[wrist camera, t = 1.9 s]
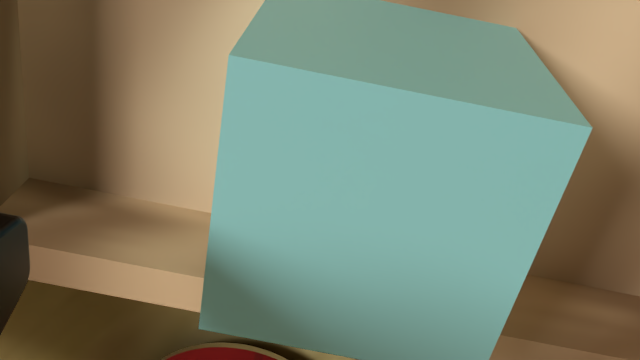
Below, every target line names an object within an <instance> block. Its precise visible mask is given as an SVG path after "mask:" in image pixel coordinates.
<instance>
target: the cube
mask: <svg viewBox="0 0 640 360" xmlns="http://www.w3.org/2000/svg"><path fill="white" fill-rule="evenodd" d="M591 130H592V126H591V125H590V124H589V122H588V121H587V120H586V119H585V117H584V116H583V115H582V113H581V112H580V111H579V109H578V108H577V107H576V105H575V104H574V103H573V101H572V100H571V99H570V98H569V96H568V95H567V94H566V92H565V91H564V90H563V88H562V87H561V86H560V84H559V83H558V82H557V81H556V79H555V78H554V77H553V75H552V74H551V73H550V71H549V70H548V69H547V67H546V66H545V65H544V63H543V62H542V61H541V60H540V58H539V57H538V56H537V54H536V53H535V52H534V50H533V49H532V48H531V46H530V45H529V44H528V42H527V41H526V40H525V39H524V37H523V36H522V35H521V33H520V32H519V31H518V29H517V28H514V27H509V26H504V25H499V24H494V23H489V22H485V21H480V20H475V19H470V18H465V17H460V16H455V15H450V14H445V13H440V12H435V11H431V10H426V9H421V8H416V7H411V6H406V5H401V4H396V3H391V2H386V1H382V0H265V1H264V3H263V4H262V6H261V7H260V9H259V10H258V12H257V13H256V15H255V16H254V18H253V19H252V21H251V22H250V24H249V25H248V27H247V28H246V30H245V31H244V33H243V34H242V36H241V37H240V39H239V40H238V42H237V43H236V45H235V46H234V48H233V49H232V51H231V52H230V54H229V56H228V65H227V74H226V83H225V92H224V102H223V111H222V120H221V129H220V138H219V147H218V156H217V165H216V174H215V183H214V192H213V201H212V211H211V220H210V229H209V238H208V247H207V256H206V265H205V274H204V283H203V292H202V301H201V310H200V320H199V329H202V330H207V331H212V332H217V333H223V334H228V335H233V336H238V337H244V338H249V339H254V340H260V341H265V342H270V343H275V344H281V345H286V346H291V347H296V348H302V349H307V350H312V351H318V352H323V353H328V354H333V355H339V356H344V357H349V358H354V359H360V360H489V358H490V356H491V354H492V352H493V349H494V347H495V345H496V343H497V340H498V338H499V336H500V334H501V331H502V329H503V327H504V325H505V323H506V320H507V318H508V316H509V314H510V311H511V309H512V307H513V305H514V302H515V300H516V298H517V296H518V293H519V291H520V289H521V287H522V285H523V282H524V280H525V278H526V276H527V273H528V271H529V269H530V267H531V264H532V262H533V260H534V258H535V255H536V253H537V251H538V249H539V247H540V244H541V242H542V240H543V238H544V235H545V233H546V231H547V229H548V226H549V224H550V222H551V220H552V217H553V215H554V213H555V211H556V209H557V206H558V204H559V202H560V200H561V197H562V195H563V193H564V191H565V188H566V186H567V184H568V182H569V179H570V177H571V175H572V173H573V171H574V168H575V166H576V164H577V162H578V159H579V157H580V155H581V153H582V150H583V148H584V146H585V144H586V141H587V139H588V137H589V135H590V132H591Z"/></svg>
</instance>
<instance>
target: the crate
mask: <svg viewBox="0 0 640 360" xmlns="http://www.w3.org/2000/svg"><path fill="white" fill-rule="evenodd" d="M264 1H265V0H0V212H1V213H6V214H11V215H17V216H20V217H22V218H23V219H24V220H25V221H26V223H27V228H28V240H29V255H30V274H29V278H28V280H32V281H37V282H42V283H48V284H53V285H58V286H63V287H69V288H74V289H79V290H84V291H90V292H95V293H100V294H105V295H111V296H116V297H121V298H126V299H132V300H137V301H142V302H147V303H153V304H158V305H163V306H168V307H174V308H179V309H184V310H189V311H195V312H200V310H201V301H202V292H203V283H204V274H205V265H206V256H207V247H208V238H209V229H210V220H211V211H212V201H213V192H214V183H215V174H216V165H217V156H218V147H219V138H220V129H221V120H222V111H223V102H224V92H225V83H226V74H227V65H228V56H229V54H230V52H231V51H232V49H233V48H234V46H235V45H236V43H237V42H238V40H239V39H240V37H241V36H242V34H243V33H244V31H245V30H246V28H247V27H248V25H249V24H250V22H251V21H252V19H253V18H254V16H255V15H256V13H257V12H258V10H259V9H260V7H261V6H262V4H263V3H264ZM382 1H386V2H391V3H396V4H401V5H406V6H411V7H416V8H421V9H426V10H431V11H435V12H440V13H445V14H450V15H455V16H460V17H465V18H470V19H475V20H480V21H485V22H489V23H494V24H499V25H504V26H509V27H514V28H517V29H518V31H519V32H520V33H521V35H522V36H523V37H524V39H525V40H526V41H527V42H528V44H529V45H530V46H531V48H532V49H533V50H534V52H535V53H536V54H537V56H538V57H539V58H540V60H541V61H542V62H543V63H544V65H545V66H546V67H547V69H548V70H549V71H550V73H551V74H552V75H553V77H554V78H555V79H556V81H557V82H558V83H559V84H560V86H561V87H562V88H563V90H564V91H565V92H566V94H567V95H568V96H569V98H570V99H571V100H572V101H573V103H574V104H575V105H576V107H577V108H578V109H579V111H580V112H581V113H582V115H583V116H584V117H585V119H586V120H587V121H588V122H589V124H590V125H591V126H592V130H591V132H590V135H589V137H588V139H587V141H586V144H585V146H584V148H583V150H582V153H581V155H580V157H579V159H578V162H577V164H576V166H575V168H574V171H573V173H572V175H571V177H570V179H569V182H568V184H567V186H566V188H565V191H564V193H563V195H562V197H561V200H560V202H559V204H558V206H557V209H556V211H555V213H554V215H553V217H552V220H551V222H550V224H549V226H548V229H547V231H546V233H545V235H544V238H543V240H542V242H541V244H540V247H539V249H538V251H537V253H536V255H535V258H534V260H533V262H532V264H531V267H530V269H529V271H528V273H527V276H526V278H525V280H524V282H523V285H522V287H521V289H520V291H519V293H518V296H517V298H516V300H515V302H514V305H513V307H512V309H511V311H510V314H509V316H508V318H507V320H506V323H505V325H504V327H503V329H502V331H501V334H500V336H499V338H498V340H497V343H496V345H495V347H494V349H493V352H492V354H491V356H490V358H489V360H640V0H382Z"/></svg>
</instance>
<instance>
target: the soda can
mask: <svg viewBox="0 0 640 360" xmlns="http://www.w3.org/2000/svg"><path fill="white" fill-rule="evenodd" d="M161 360H288V359H286V358H284V357H282V356H280V355H278V354H275V353H273V352H270V351H268V350H265V349H261V348H258V347H254V346H250V345H245V344H238V343H226V342H216V343H204V344H198V345H193V346H189V347H186V348H183V349H180V350H178V351H175V352H173V353H171V354H169V355H167V356H166V357H164V358H162V359H161Z"/></svg>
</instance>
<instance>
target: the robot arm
mask: <svg viewBox="0 0 640 360" xmlns="http://www.w3.org/2000/svg"><path fill="white" fill-rule="evenodd" d="M29 274H30V255H29V240H28V228H27V223H26V221H25V220H24V219H23V218H22V217H20V216H17V215H11V214H6V213H1V212H0V335H1V333H2V331H3V329H4V327H5V325H6V323H7V321H8V319H9V317H10V315H11V313H12V312H13V310H14V308H15V306H16V304H17V302H18V300H19V298H20V296H21V294H22V292H23V290H24V288H25V286H26V284H27V281H28V278H29Z"/></svg>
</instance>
